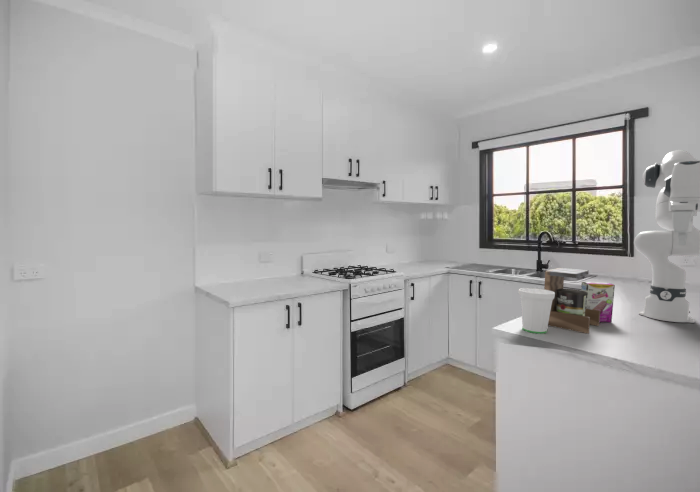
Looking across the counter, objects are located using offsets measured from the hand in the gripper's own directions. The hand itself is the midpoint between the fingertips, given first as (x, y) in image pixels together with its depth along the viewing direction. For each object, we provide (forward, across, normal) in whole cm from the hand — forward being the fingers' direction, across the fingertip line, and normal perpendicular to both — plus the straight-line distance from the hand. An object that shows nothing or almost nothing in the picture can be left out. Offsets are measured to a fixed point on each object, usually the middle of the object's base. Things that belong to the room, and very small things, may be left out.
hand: (682, 245), depth 130 cm
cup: (+34, +30, -38) cm, 59 cm away
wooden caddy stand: (+34, +10, -30) cm, 46 cm away
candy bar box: (+34, -6, -26) cm, 44 cm away
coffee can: (+34, +10, -31) cm, 48 cm away
